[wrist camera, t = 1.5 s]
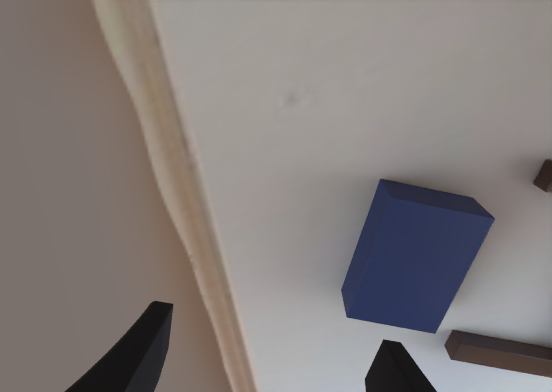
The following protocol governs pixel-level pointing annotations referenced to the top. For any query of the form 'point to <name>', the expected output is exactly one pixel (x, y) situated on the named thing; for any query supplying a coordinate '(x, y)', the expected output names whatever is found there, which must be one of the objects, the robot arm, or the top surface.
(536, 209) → the top surface
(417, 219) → the tea packet
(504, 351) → the bay
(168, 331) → the robot arm
